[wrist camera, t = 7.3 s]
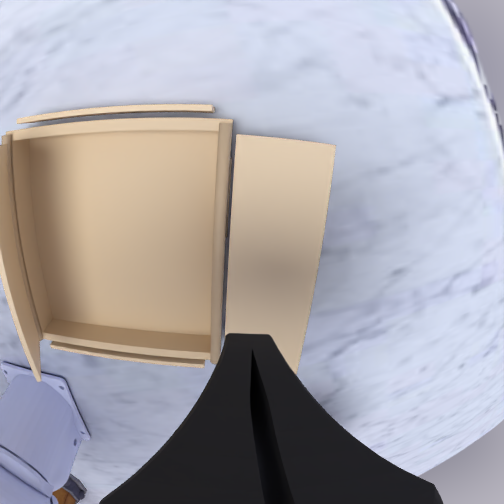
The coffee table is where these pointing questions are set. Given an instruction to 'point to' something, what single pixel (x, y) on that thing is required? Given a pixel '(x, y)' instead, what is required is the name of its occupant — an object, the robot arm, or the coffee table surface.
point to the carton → (124, 231)
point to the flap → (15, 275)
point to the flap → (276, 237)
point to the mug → (70, 491)
